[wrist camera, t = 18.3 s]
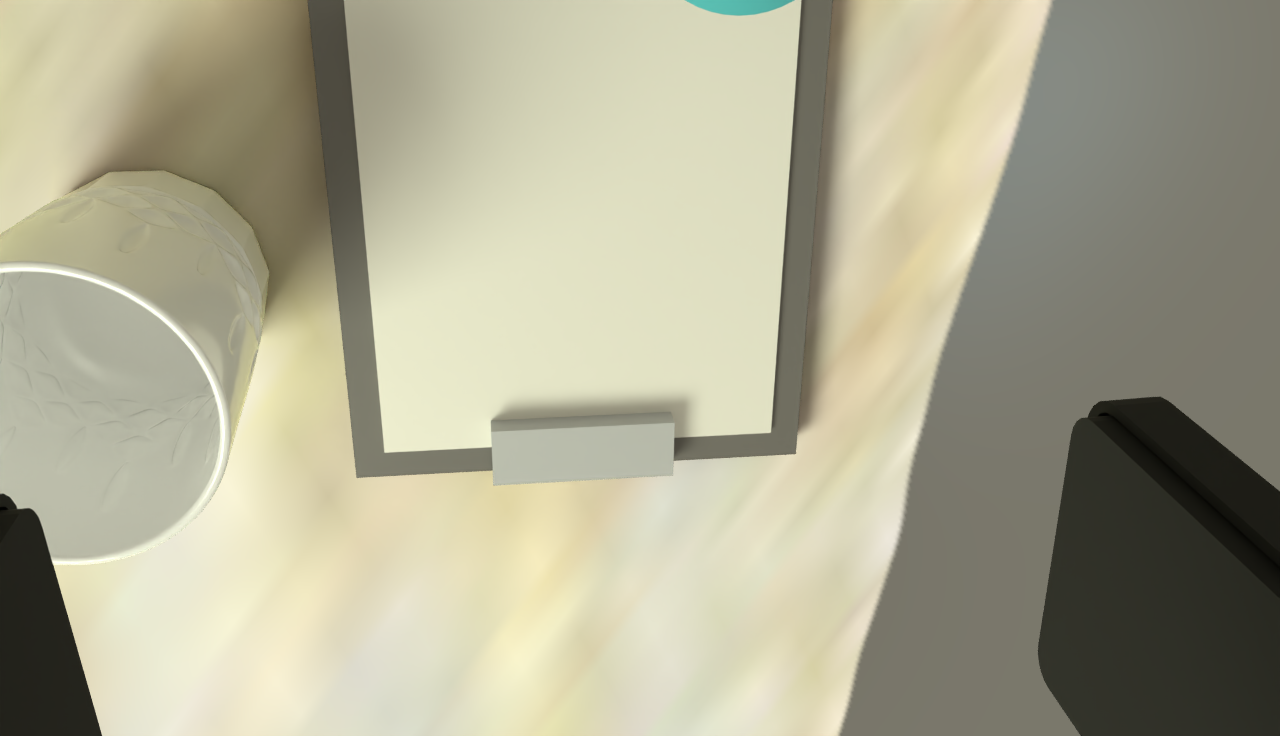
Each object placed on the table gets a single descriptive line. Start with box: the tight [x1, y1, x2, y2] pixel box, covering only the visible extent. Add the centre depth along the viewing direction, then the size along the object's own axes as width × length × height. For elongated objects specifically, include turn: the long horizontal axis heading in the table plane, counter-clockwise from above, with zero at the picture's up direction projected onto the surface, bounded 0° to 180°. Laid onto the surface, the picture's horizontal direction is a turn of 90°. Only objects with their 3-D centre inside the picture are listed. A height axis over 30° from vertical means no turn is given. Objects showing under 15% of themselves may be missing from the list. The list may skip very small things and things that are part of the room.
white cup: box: [0, 170, 269, 565], centre depth 31 cm, size 8×8×10 cm
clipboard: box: [308, 0, 833, 485], centre depth 35 cm, size 22×15×2 cm
